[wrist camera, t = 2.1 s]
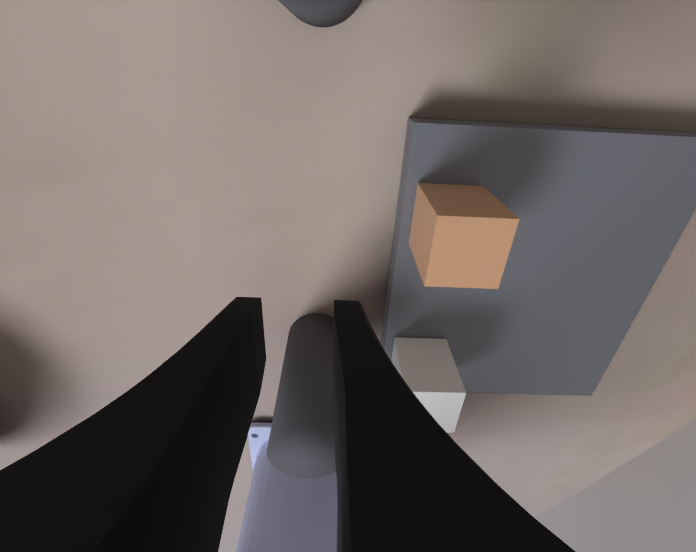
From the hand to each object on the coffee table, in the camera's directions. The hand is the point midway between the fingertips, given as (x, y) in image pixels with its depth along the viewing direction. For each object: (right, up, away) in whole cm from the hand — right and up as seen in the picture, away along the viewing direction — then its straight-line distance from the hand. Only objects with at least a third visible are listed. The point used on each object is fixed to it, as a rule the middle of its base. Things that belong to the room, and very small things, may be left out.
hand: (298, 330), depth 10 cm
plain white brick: (+5, -3, +12) cm, 14 cm away
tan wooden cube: (+6, +4, +8) cm, 11 cm away
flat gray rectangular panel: (+11, +1, +11) cm, 16 cm away
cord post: (-1, -2, +14) cm, 14 cm away
